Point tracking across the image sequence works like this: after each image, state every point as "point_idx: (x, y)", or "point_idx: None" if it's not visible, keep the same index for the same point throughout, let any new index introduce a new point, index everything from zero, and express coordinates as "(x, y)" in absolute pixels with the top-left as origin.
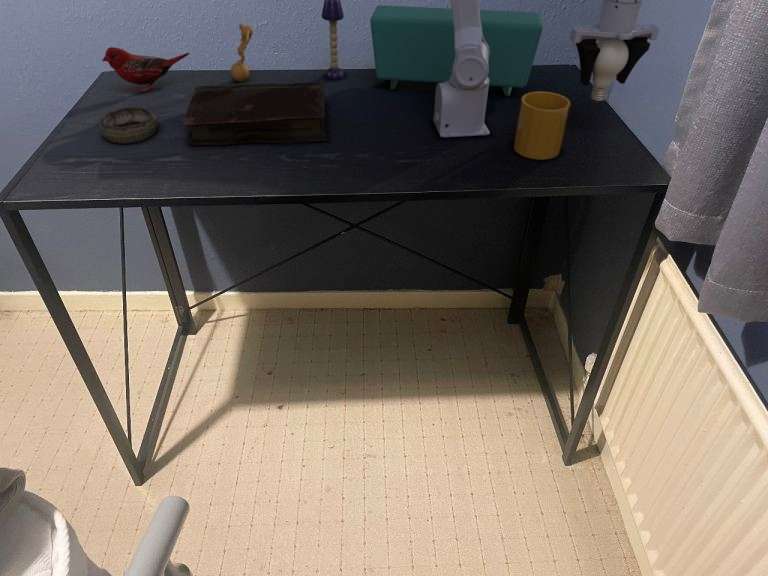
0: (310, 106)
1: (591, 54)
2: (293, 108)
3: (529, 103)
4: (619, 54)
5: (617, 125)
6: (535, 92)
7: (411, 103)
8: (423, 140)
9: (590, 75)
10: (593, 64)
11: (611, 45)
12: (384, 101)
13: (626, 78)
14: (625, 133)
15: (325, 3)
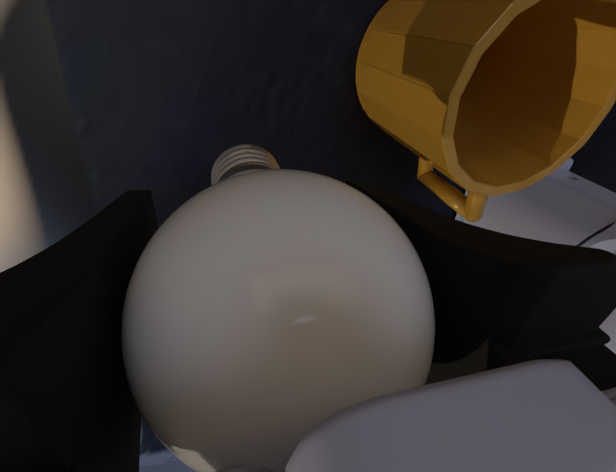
0: None
1: (537, 248)
2: None
3: (500, 163)
4: (296, 248)
5: (98, 190)
6: (509, 187)
7: None
8: (599, 152)
9: (380, 195)
10: (423, 224)
11: (390, 351)
12: None
13: (117, 200)
14: (80, 131)
15: None
